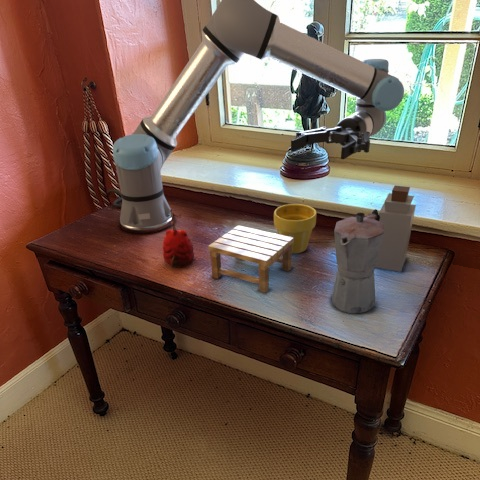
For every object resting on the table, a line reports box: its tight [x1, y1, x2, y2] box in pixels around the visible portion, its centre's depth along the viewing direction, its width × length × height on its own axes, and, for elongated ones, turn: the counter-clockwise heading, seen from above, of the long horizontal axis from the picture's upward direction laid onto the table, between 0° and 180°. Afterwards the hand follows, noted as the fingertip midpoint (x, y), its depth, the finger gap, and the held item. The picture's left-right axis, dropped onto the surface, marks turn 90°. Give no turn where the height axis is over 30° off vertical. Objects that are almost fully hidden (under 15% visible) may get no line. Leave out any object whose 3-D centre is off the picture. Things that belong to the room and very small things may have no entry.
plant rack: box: [207, 224, 294, 293], centre depth 105 cm, size 15×13×8 cm
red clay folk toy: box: [162, 208, 195, 269], centre depth 108 cm, size 8×7×15 cm
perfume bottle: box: [375, 185, 417, 273], centre depth 103 cm, size 7×7×18 cm
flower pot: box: [273, 203, 317, 254], centre depth 114 cm, size 10×10×10 cm
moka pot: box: [331, 208, 384, 314], centre depth 90 cm, size 10×15×20 cm, turn 146°
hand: (316, 149), depth 110 cm, fingers open, 13 cm apart
